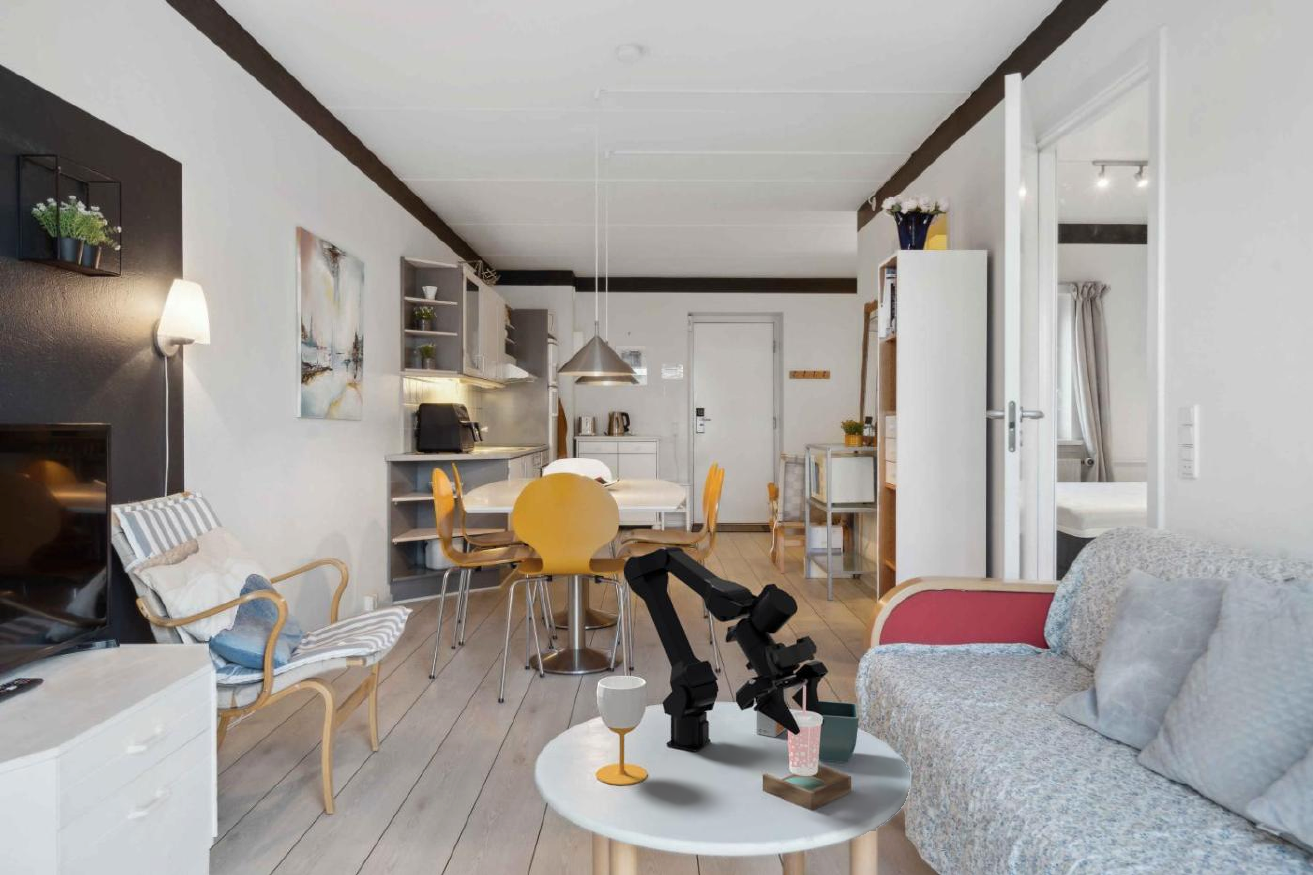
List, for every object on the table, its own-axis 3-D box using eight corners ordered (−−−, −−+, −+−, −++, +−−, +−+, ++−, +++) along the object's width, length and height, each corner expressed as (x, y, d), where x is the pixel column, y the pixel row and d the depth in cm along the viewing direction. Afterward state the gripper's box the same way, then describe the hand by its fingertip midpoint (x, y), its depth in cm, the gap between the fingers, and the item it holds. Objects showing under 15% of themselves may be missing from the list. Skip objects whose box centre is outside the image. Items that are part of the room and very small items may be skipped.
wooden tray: (762, 790, 135) (762, 774, 135) (802, 773, 142) (802, 758, 142) (811, 810, 127) (811, 793, 127) (851, 791, 134) (851, 776, 134)
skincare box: (775, 738, 160) (775, 676, 160) (755, 734, 162) (756, 673, 162) (787, 729, 165) (787, 669, 165) (768, 725, 167) (768, 666, 167)
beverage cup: (816, 762, 138) (817, 680, 139) (826, 777, 132) (828, 690, 132) (780, 763, 138) (782, 680, 138) (790, 778, 132) (791, 691, 132)
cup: (623, 761, 147) (623, 672, 148) (658, 775, 141) (659, 682, 141) (584, 774, 141) (585, 681, 141) (619, 790, 135) (620, 692, 135)
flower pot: (859, 768, 144) (859, 717, 145) (808, 764, 146) (808, 714, 146) (857, 750, 153) (857, 702, 153) (809, 747, 155) (809, 699, 155)
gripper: (749, 629, 132) (802, 715, 124) (819, 614, 144) (872, 691, 136) (714, 668, 138) (762, 752, 130) (784, 650, 150) (833, 726, 142)
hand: (810, 729), depth 134 cm, fingers closed on beverage cup, 6 cm apart
